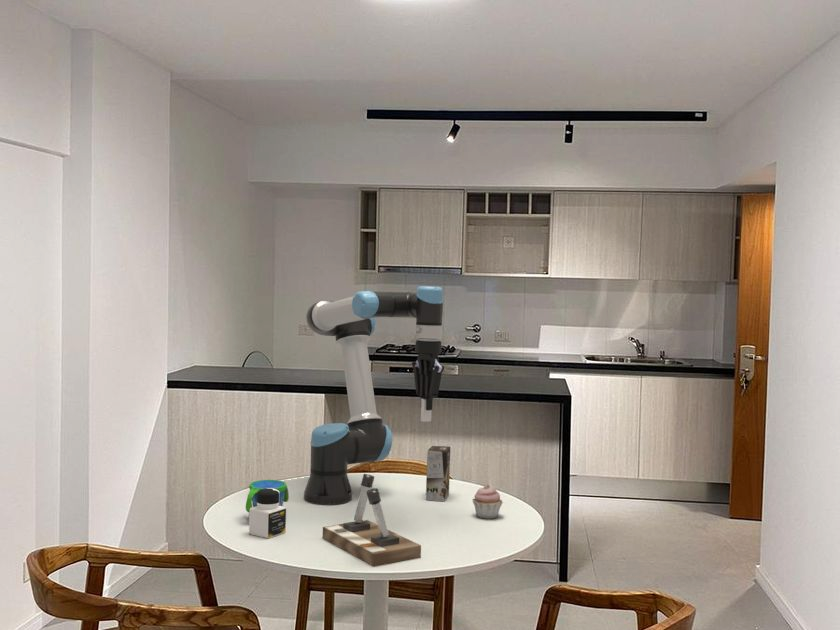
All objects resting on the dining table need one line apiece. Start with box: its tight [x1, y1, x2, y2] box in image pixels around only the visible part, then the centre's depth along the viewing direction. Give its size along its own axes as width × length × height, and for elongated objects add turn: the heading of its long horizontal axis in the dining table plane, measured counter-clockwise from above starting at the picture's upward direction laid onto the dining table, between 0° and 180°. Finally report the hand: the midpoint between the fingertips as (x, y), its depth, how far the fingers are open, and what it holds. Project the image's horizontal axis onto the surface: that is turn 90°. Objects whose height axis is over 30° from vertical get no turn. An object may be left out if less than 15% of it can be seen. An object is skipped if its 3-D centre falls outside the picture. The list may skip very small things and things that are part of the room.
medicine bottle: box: [248, 488, 287, 539], centre depth 231 cm, size 7×7×12 cm
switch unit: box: [322, 519, 422, 567], centre depth 222 cm, size 26×14×4 cm, turn 35°
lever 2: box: [366, 487, 389, 537], centre depth 215 cm, size 3×3×12 cm
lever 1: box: [353, 473, 375, 522], centre depth 228 cm, size 3×3×12 cm
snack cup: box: [245, 479, 290, 514], centre depth 245 cm, size 16×10×10 cm
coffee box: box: [425, 445, 451, 502], centre depth 275 cm, size 9×6×16 cm
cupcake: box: [472, 483, 504, 520], centre depth 255 cm, size 9×9×10 cm
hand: (425, 420), depth 246 cm, fingers closed
